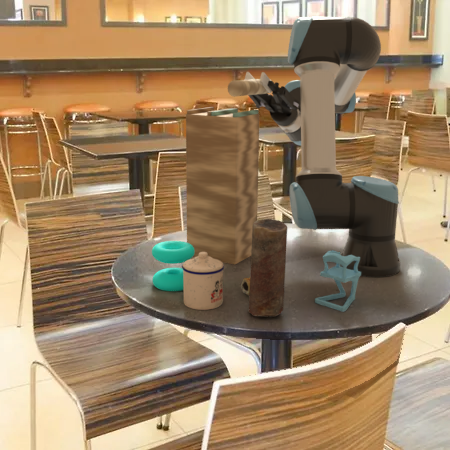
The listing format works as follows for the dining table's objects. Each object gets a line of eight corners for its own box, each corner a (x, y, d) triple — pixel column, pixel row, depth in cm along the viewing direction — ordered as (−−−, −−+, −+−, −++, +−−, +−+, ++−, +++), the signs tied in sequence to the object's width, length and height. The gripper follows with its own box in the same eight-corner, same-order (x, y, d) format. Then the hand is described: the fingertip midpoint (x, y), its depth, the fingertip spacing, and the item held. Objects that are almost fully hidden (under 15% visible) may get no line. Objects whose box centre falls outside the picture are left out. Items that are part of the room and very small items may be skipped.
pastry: (275, 285, 157) (275, 270, 156) (287, 295, 150) (287, 279, 149) (238, 289, 154) (238, 274, 152) (249, 300, 147) (249, 284, 146)
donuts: (197, 250, 149) (153, 252, 147) (197, 291, 151) (154, 294, 150) (191, 238, 158) (150, 240, 157) (191, 277, 161) (151, 279, 159)
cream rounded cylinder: (261, 93, 183) (260, 78, 182) (273, 93, 181) (273, 78, 180) (227, 96, 168) (227, 80, 167) (241, 96, 166) (240, 80, 165)
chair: (364, 301, 146) (367, 250, 143) (343, 312, 140) (346, 258, 137) (335, 293, 151) (337, 243, 148) (314, 302, 145) (316, 251, 142)
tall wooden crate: (210, 244, 188) (210, 106, 178) (256, 252, 180) (259, 109, 170) (187, 255, 178) (185, 110, 168) (234, 264, 170) (236, 113, 160)
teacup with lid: (219, 312, 140) (219, 260, 137) (177, 309, 141) (177, 257, 138) (229, 292, 151) (230, 244, 148) (191, 289, 153) (191, 241, 150)
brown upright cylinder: (283, 307, 142) (286, 218, 137) (285, 321, 135) (288, 228, 130) (248, 307, 143) (249, 218, 137) (248, 320, 136) (250, 227, 130)
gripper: (309, 128, 189) (279, 90, 169) (257, 124, 198) (223, 88, 178) (315, 105, 191) (286, 64, 171) (264, 102, 199) (230, 63, 179)
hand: (254, 76), depth 174 cm, fingers closed on cream rounded cylinder, 4 cm apart
